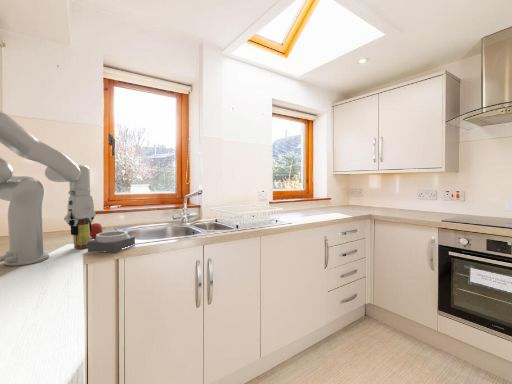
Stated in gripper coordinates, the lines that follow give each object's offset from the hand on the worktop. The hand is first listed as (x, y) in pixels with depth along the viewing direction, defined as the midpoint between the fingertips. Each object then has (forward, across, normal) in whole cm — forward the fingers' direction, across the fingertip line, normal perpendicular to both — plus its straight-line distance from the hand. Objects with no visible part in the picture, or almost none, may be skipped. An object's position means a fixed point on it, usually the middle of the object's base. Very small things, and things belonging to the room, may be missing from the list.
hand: (81, 232), depth 116 cm
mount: (+7, +2, -14) cm, 16 cm away
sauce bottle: (+7, 0, 0) cm, 7 cm away
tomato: (+7, +18, +9) cm, 21 cm away
